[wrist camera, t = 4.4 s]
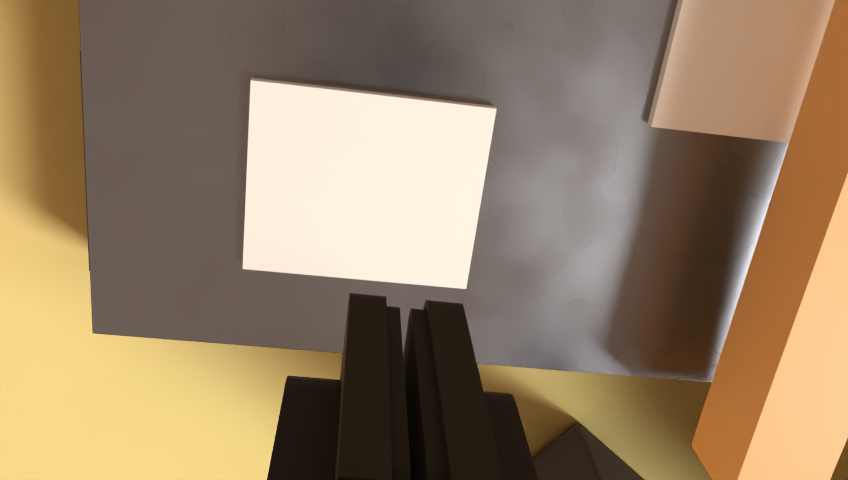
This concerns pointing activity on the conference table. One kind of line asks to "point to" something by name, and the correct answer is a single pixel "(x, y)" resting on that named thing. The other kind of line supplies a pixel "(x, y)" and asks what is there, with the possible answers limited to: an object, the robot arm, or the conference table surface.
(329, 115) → the label
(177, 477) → the conference table surface
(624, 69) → the server box
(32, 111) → the conference table surface
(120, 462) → the conference table surface
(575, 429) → the grey and red box
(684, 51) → the label
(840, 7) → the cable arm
